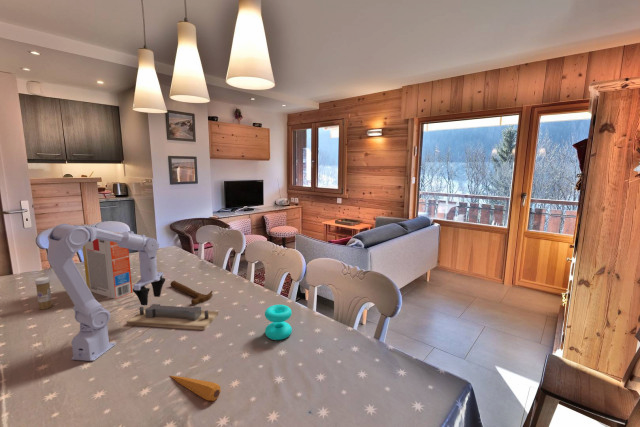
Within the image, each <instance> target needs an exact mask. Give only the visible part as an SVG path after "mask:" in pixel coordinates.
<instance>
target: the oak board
mask: <svg viewBox="0 0 640 427" xmlns="http://www.w3.org/2000/svg"><path fill="white" fill-rule="evenodd" d="M148 307H149V306H147V307H145V308H144V306H140V307H139V312H138V313H137V314H136V315H134V316H133V317H131V318H130V319H128V320H127V321H126V325H127V326H139V327H151V328H152V327H155V328H169V329H171V328H172V329H186V330H197V331H199V330H200V331H202V330H203V331H204V330H206V329H207V328H208V327H209V326H210V324H212V323H213V321H214V320H215V319H216V318H217V317H218V315H219V311H216V310H215V311H213V310H208V309H207V310H202V309H201V316H200V317H199V318H198V319H197V320H196V321H190V320H188V319H179V318H163V317H154V318H146V314H145V309H147V308H148Z"/></svg>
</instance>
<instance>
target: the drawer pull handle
mask: <svg viewBox="0 0 640 427" xmlns="http://www.w3.org/2000/svg"><path fill="white" fill-rule="evenodd" d="M147 307H148V308H147ZM147 307H146V308H147V309H146V308H144V309H145V314H146V318H154V317H163V318H179V319H188V320H190V321H196V320H197V319H198V318H199V317H200V316H201V310H202V307H201V306H196V305H193V307H191V306H190V307H189V306H188V307H187V306H176V305H175V306H173V305H172V306H171V305H170V306H169V305H161V304H157V303H153V304H151V305H150V306H147Z"/></svg>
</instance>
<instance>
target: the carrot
mask: <svg viewBox="0 0 640 427" xmlns="http://www.w3.org/2000/svg"><path fill="white" fill-rule="evenodd" d="M169 377H170V378H172V379H173V380H175V381H176V382H177V383H178V384H180V385H181V386H183V387H185V388H186V389H188V390H190V391H191V392H192V393H194V394H196V395H198V396H199V397H201V398H202V399H205V400H206V401H208V402H209V401H210V402H214V401H216V400H217V399H218V398H219V396H220V393H221V392H222V391H221V389H222V388H221V385H219V384H218V383H216V382H214V381H206V380H202V379H195V378H190V377H185V376H175V375H169Z"/></svg>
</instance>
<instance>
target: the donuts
mask: <svg viewBox="0 0 640 427" xmlns="http://www.w3.org/2000/svg"><path fill="white" fill-rule="evenodd" d="M292 314H293V312H292V309H291V307H289V306H288V305H285V304H273V305H270V306H268V307H267V308H266V310H265V311H264V317H265V319H266V320H267V321H269V322H271V323H269V324H268V325H267V326H266V327H265V330H264V333H265V336H266V337H267V338H268V339H270V340H274V341H281V340H285V339H288V337H290V336H291V334H292V332H293V328H292V325H290V324H289V322H286V321H287V320H289V319H290V318H291V317H292Z"/></svg>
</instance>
